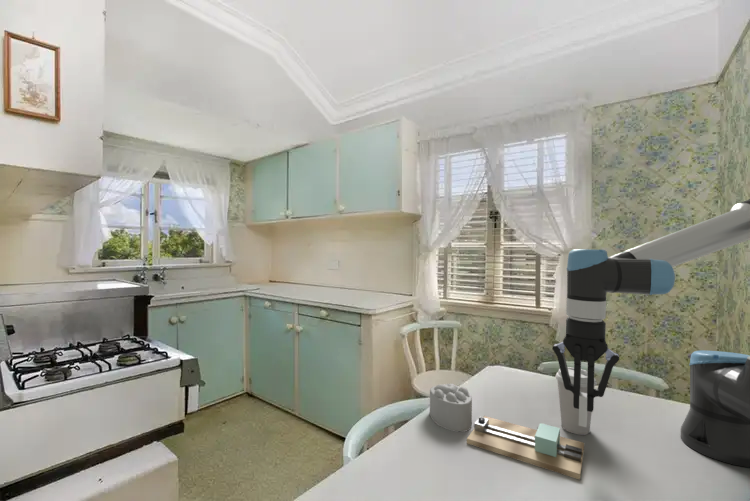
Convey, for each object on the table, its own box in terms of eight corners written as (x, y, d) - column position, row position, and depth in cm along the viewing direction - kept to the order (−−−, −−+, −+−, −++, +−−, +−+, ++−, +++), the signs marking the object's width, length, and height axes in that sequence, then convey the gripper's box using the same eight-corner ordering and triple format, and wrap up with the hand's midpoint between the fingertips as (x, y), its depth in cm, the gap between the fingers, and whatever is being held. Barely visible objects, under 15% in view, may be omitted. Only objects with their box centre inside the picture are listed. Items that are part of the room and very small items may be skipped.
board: (584, 447, 83) (584, 442, 83) (580, 479, 72) (580, 474, 72) (483, 420, 97) (483, 415, 97) (466, 443, 85) (466, 438, 85)
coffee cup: (603, 440, 87) (603, 380, 87) (561, 435, 89) (561, 377, 89) (587, 421, 96) (588, 367, 96) (550, 418, 98) (550, 365, 98)
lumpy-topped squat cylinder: (458, 407, 105) (458, 378, 105) (481, 429, 92) (481, 396, 92) (425, 411, 102) (425, 381, 102) (444, 434, 90) (444, 400, 90)
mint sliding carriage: (559, 442, 83) (560, 428, 83) (556, 457, 77) (556, 441, 77) (539, 437, 86) (540, 422, 86) (534, 451, 80) (534, 435, 80)
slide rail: (581, 452, 80) (581, 441, 80) (580, 462, 76) (580, 451, 76) (479, 423, 93) (479, 414, 93) (474, 430, 89) (474, 421, 89)
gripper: (620, 319, 77) (618, 425, 77) (554, 312, 84) (552, 409, 84) (621, 325, 70) (619, 441, 71) (550, 317, 78) (548, 422, 78)
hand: (582, 423), depth 77 cm, fingers closed
